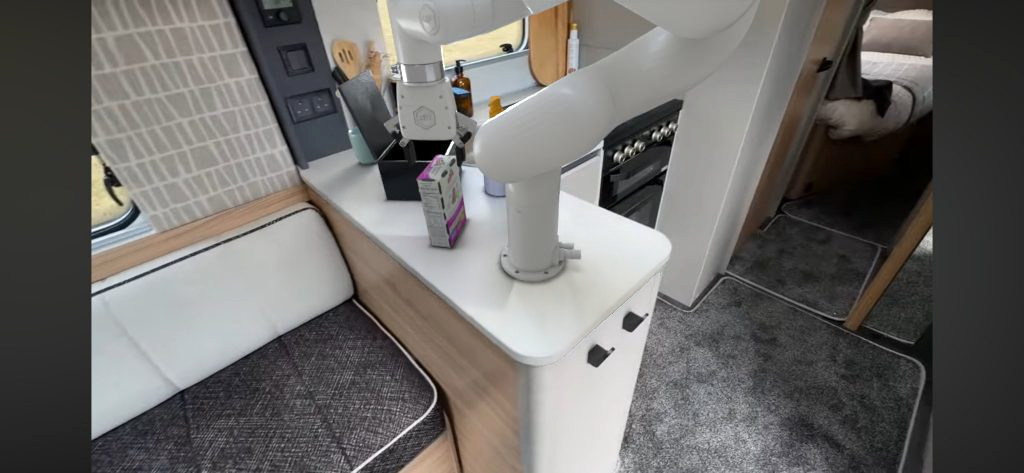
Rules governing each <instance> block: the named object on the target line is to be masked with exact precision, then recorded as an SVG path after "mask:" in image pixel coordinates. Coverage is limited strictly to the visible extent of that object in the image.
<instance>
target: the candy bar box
mask: <svg viewBox="0 0 1024 473" xmlns="http://www.w3.org/2000/svg"><path fill="white" fill-rule="evenodd" d="M416 180H417V184H418V188H419V192H420V197H421V201H420V202H421V204H422V205H421V206H422V209H423V215H424V219H425V223H426V227H427V228H426V229H427V232H428V237H429V242H430V245H431V246H432V247H435V248H436V247H437V248H439V247H440V248H449V249H451V248H453V246H454V244H455V242H456V240H457V239H458V236H459V235H460V233H461V231H462V229H463V227H464V225H465V223H466V221H467V220H468V218H467V213H466V206H465V199H464V195H463V193H464V192H463V187H462V186H463V185H462V180H461V176H460V172H459V167H458V166H457V161H456V156H451V155H436V157H435V158H434V159H433V160H432V161H431V163H430V164H429V165H428V166H427V167H426V169H425V170H424V171H423V172H422V173H421V174H420V176H419V177H418V178H417V179H416Z"/></svg>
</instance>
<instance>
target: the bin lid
mask: <svg viewBox="0 0 1024 473" xmlns="http://www.w3.org/2000/svg"><path fill="white" fill-rule="evenodd" d="M336 89H337V90H335V96H336V98H338V99H342V100H343V102H344V104H345V106H346V108H347V109H348V112H349V114H350V116H351V117H352V120H353V121H354V123H355V125H356V127H358V129H359V131H360V133H361V135H362V137H363V139H364V140H365V142H366V144H367V146H368V148H369V150H370V152H371V154H372V156H373V158H374V160H378V159H380V158H379V157H381V156H382V155H383V154H384V153H385V152H386V150H387V149H388V148H389V147H390V146H391V144H392V143H393V142H394V141H395V139H394V138H393V137H392V136H391V133H389V131H388V130H387V129H386V127H385V126H384V123H385V122H386V121H387V120H389V119H390V118H392V117H393V116H392V114H391V113H390V110H389V108H388V105H387V103H386V101H385V99H384V97H383V95H382V93H381V91H380V89H379V86H378V84H377V82H376V80H375V77H374V75H373V73H372V71H371V68H367V69H364V71H362V72H360V73H359V74H357V75H355V76H353V77H352V78H350V79H349V80H347V81H345V82H343V83H341V84H340V85H339V86H337V87H336ZM395 126H396V128H397V124H396V125H395ZM397 129H398V128H397Z"/></svg>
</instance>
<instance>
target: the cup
mask: <svg viewBox="0 0 1024 473" xmlns="http://www.w3.org/2000/svg"><path fill="white" fill-rule="evenodd" d="M347 135H348V138H349V141H350V145H351V148H352V151H353V153H354V156H355V157H356V159H357V161H358V162H360V163H361V164H364V165H371V164H374V163H377V161H378V160H379V159H380V157H381V156H380V157H379V159H378V160H374V158H373V156H372V154H371V152H370V150H369V148H368V146H367V144H366V142H365V140H364V139H363V137H362V135H361V133H360V131H359V129H358V127H357V126H354V127H351V128H349V130H348V131H347Z"/></svg>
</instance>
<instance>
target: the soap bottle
mask: <svg viewBox="0 0 1024 473" xmlns="http://www.w3.org/2000/svg"><path fill="white" fill-rule="evenodd" d="M490 99H491V100H490V101H489V102H488V104H487V105H488V107H490V109H489V110H488V118H489V120H490V119H492V118H494V117H495V116H497V115H499V114H500V113H502V112H504V111H505V109H504V108H503V105H502V103H501V99H502V96H500V95H492V96H490ZM482 175H483V186H484V190H485V192H486V193H487V194H488V195H490V196H494V197H504V196H505V197H506V188H505V184H504V183H498V182H495V181H493V180H491V179H489V178H487V177H486V176H485V175H484V174H483V173H482Z"/></svg>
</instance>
